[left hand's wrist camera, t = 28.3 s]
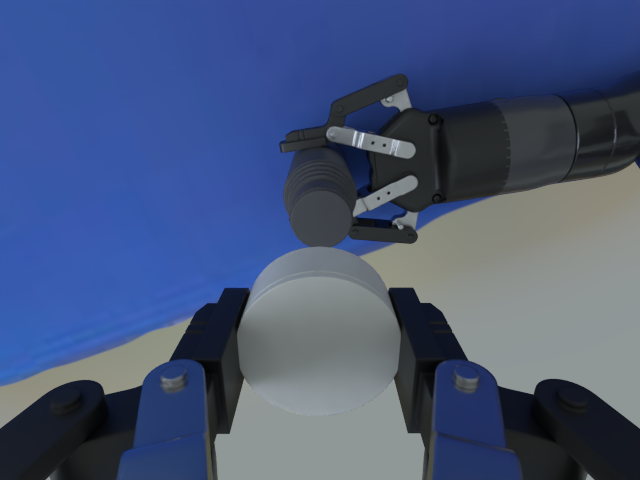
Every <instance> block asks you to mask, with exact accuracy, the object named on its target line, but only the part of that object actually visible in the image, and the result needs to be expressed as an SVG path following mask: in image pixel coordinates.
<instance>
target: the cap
mask: <svg viewBox="0 0 640 480" xmlns="http://www.w3.org/2000/svg"><path fill="white" fill-rule="evenodd" d="M400 340H401V330H400V326H399V323H398V320H397V317H396V314H395V311H394V308H393V306H392V303H391V300H390V297H389V294H388V291H387V289H386V286H385V284H384V282H383V280H382V279H381V277H380V276H379V274H378V273H377V272H376V271H375V270H374V269H373V268H372V267H371V266H370V265H369V264H368V263H367V262H365V261H364V260H362V259H361V258H359V257H358V256H356V255H354V254H352V253H349V252H347V251H344V250H340V249H336V248H330V247H320V246H319V247H308V248H302V249H298V250H295V251H292V252H289V253H287V254H284V255H283V256H281V257H279V258H277V259H276V260H274V261H273V262H272V263H270V264H269V265H268V266H267V267H266V268H265V269H264V270H263V271H262V272H261V274H260V275H259V276H258V278H257V279H256V281H255V283H254V285H253V287H252V290H251V292H250V295H249V298H248V301H247V304H246V307H245V310H244V313H243V315H242V318H241V321H240V324H239V327H238V330H237V342H238V353H239V364H240V370H241V372H242V374H243V376H244V378H245V379H246V381H247V382H248V384H249V385H250V386H251V387H252V389H253V390H254V391H255V392H256V393H258V394H259V395H260V396H261V397H262V398H264V399H265V400H266V401H268V402H269V403H271V404H273V405H275V406H277V407H279V408H281V409H284V410H286V411H289V412H293V413H297V414H301V415H308V416H330V415H337V414H342V413H346V412H349V411H352V410H355V409H357V408H359V407H362V406H364V405H365V404H367V403H369V402H370V401H372V400H373V399H375V398H376V397H377V396H379V395H380V394H381V393H382V392H383V391H384V390H385V389H386V388H387V387H388V385H389V384H390V383H391V381H392V380H393V378H394V376H395V375H396V373H397V371H398V363H399V352H400Z"/></svg>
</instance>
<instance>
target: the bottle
mask: <svg viewBox="0 0 640 480" xmlns="http://www.w3.org/2000/svg"><path fill="white" fill-rule="evenodd" d="M283 198H284V204H285V208H286V211H287V213H288V215H289V221H290V224H291V227H292V229H293V231H294V234H295V235H296V236H297V238H298V239H299V240H300V241H302V242H303V243H304V244H306V245H308V246H310V247H319V246H320V247H332V246H335V245H337V244H338V243H340V242H341V241H342V240H343V239H345V237H346V236H347V235H348V233H349V232H350V230H351V227H352V225H353V218H354V217H353V211H354V209H355V206H356V200H357V190H356V185H355V182H354V180H353V178H352V175H351V173H350V171H349V169H348V166H347V164H346V162H345V160H344V157H343V155H342V153H341V151H340V149H339V147H338V146H337V145H336V144H335V143H334V142H329V143H327V146H323V147H315V148H310V149H304V150H297V151H296V152H295V154H294V157H293V161H292V164H291V167H290V170H289V173H288V177H287V180H286V183H285V186H284V192H283Z"/></svg>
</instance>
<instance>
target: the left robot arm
mask: <svg viewBox="0 0 640 480" xmlns="http://www.w3.org/2000/svg"><path fill="white" fill-rule="evenodd" d="M388 294H389V297H390V300H391V303H392V306H393V308H394V311H395V314H396V317H397V320H398V323H399V326H400V330H401V340H400V352H399V363H398V371H397V373H396V375H395V376H394V380H395V384H396V388H397V392H398V396H399V400H400V404H401V408H402V412H403V415H404V419H405V423H406V427H407V431H408V433H421V437H422V440H423V443H424V447H425V452H424V463H423V477H422V480H586V477H587V474H589V475H590V476H591V477H592V478H593V479H594V480H640V429H639V428H638V427H637V426H636V425H634V424H633V423H632V422H630V421H629V420H628V419H626V418H625V417H624V416H623V415H621V414H620V413H619V412H617V411H616V410H615V409H613V408H612V407H611V406H610V405H608V404H607V403H606V402H604V401H603V400H602V399H600V398H599V397H598V396H597V395H595V394H594V393H592V392H591V391H589V390H588V389H586V388H584V387H582V386H580V385H578V384H575V383H573V382H569V381H566V380H560V379H547V380H543V381H541V382H539V383H538V384H537V386H536V388H535V392H534V395H532V394H528V393H524V392H520V391H515V390H511V389H507V388H503V387H500V386H498V385H497V381H496V379H495V378H494V376H493V375H492V374H491V373H490V372H489V371H488V370H487V369H485V368H484V367H482V366H480V365H478V364H476V363H474V362H471V361H468V359H467V357H466V356H465V354H464V352H463V350H462V348H461V346H460V345H459V343H458V341H457V339H456V337H455V335H454V334H453V333H452V330H451V328H450V326H449V325H448V324H447V321H446V319H445V317H444V315H443V313H442V312H441V311H440V310H439V309H437V308H436V307H435V306H433V305H432V304H431V303H420V301H419V299H418V297H417V295H416V292H415V290H414V289H413V288H389V291H388ZM249 295H250V291H249V288H225V289H224V291H223V293H222V295H221V297H220V299H219V301H218V303H207V304H206V305H205V306H204V307H202V308H201V309H200V310H198V311H197V312H196V313H195V315H194V317H193V319H192V320H191V322H190V325H189V326H188V328H187V329H186V332H185V334H184V335H183V337H182V339H181V340H180V342H179V344H178V346H177V348H176V349H175V351H174V353H173V355H172V357H171V358H170V360H169V362H167V363H164V364H162V365H160V366H158V367H156V368H155V369H153V370H152V371H151V372H150V373H149V374H148V375H147V376H146V377H145V379H144V381H143V385H141V386H139V387H136V388H132V389H129V390H125V391H120V392H116V393H111V394H107V395H105V394H104V390H103V388H102V386H101V385H100V384H99V383H98V382H95V381H91V380H79V381H74V382H70V383H66V384H64V385H61V386H59V387H57V388H55V389H53V390H51V391H49V392H48V393H46V394H45V395H43V396H42V397H41V398H40V399H38V400H37V401H36V402H34V403H33V404H32V405H30V406H29V407H28V408H27V409H25V410H24V411H23V412H21V413H20V414H19V415H17V416H16V417H15V418H14V419H12V420H11V421H10V422H8V423H7V424H6V425H4V426H3V427H2V428H1V429H0V480H46V479H47V478H48V477H49V476H50V479H51V480H218V477H217V463H216V452H215V445H214V441H215V438H216V435H217V434H229V433H230V430H231V426H232V422H233V418H234V415H235V411H236V407H237V403H238V399H239V395H240V392H241V388H242V384H243V380H244V376H243V374H242V372H241V370H240V364H239V353H238V342H237V330H238V327H239V324H240V321H241V318H242V315H243V313H244V310H245V307H246V304H247V301H248V298H249Z"/></svg>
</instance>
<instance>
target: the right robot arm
mask: <svg viewBox="0 0 640 480" xmlns="http://www.w3.org/2000/svg"><path fill="white" fill-rule="evenodd" d="M407 85H408V79H407V77H406V76H405V75H403V74H397V75H392V76H390V77H388V78H385V79H383V80H381V81H378V82H376V83H374V84H372V85H369V86H367V87H365V88H362V89H360V90H358V91H356V92H353V93H351V94H349V95H346V96H344V97H342V98H340V99H337V100H335V101H334V102H333V103H332V104H331V109H330V114H329V119H328V121H327V123H326V124H325V125H323V126H319V127H313V128H307V129H300V130H294V131H291V132H290V133H288V134H287V135H286V136H285V137H286V140H284V141H281V142H280V143H279V145H280V151H281V153H284V152H291V151H297V150H304V149H310V148H315V147H323V146H327V143H329V142H334V143H339V144H344V145H349V146H353V147H356V148H360V149H364V150H366V153H367V158H368V161H369V163H370V171H369V181H370V183H368V184H367V185H365V186H363V187H361V188H360V189H358V191H357V200H356V206H355V209H354V211H353V217H354V218H353V225H352V227H351V230H350V232H349V233H348V235H349V237H350V238H352V239H357V240H370V241H382V242H395V243H408V244H411V243H414V242H415V241H416V240H417V238H418V235H417V233H416V231H415V228H416V222H417V217H418V212H420V211H422V210H424V209H425V208H427V207H428V206H430V205H433V204H439V203H447V202H454V201H461V200H468V199H474V198H481V197H488V196H495V195H502V194H508V193H515V192H522V191H527V190H531V189H535V188H538V187H542V186H546V185H550V184H555V183H562V182H569V181H576V180H582V179H589V178H595V177H601V176H606V175H610V174H613V173H616V172H619V171H621V170H623V169H624V168H626V167H628V166H629V165H631V164H632V163H633V162H634V161H635V162H636V164H637V165H638V167H639V168H640V70H639V71H636V72H634V73H631V74H629V75H626V76H624V77H622V78H620V79H618V80H615V81H613V82H611V83H609V84H607V85H604V86H602V87H598V88H591V89H583V90H577V91H570V92H564V93H558V94H552V95H542V96H519V97H512V98H497V99H493V100H491V101H487V102H480V103H474V104H468V105H462V106H455V107H449V108H443V109H437V110H430V111H421V110H419V109H417V108H412V106H411V103H410V100H409V97H408V93H407V90H406V87H407ZM378 101H379V102H380V104H381V105H382V106H385V107H392V106H394V107H396V108H397V109H398V112H397V113H396V114H395V115H394V116H393V117H392V118H391V119H390V120H389V121H388V122H387V123H386V124H385V125H384V126H383V127H382V128H381V129H380V130H379V131H378V132H373V131H368V130H363V129H358V128H352V127H347V126H344V122H345V117H346V115H347V114H350V113H352V112H354V111H357V110H359V109H361V108H364V107H366V106H368V105H371V104H373V103H375V102H378ZM372 189H373V190H372ZM378 197H379V198H378ZM388 201H389V202H391V203H393V204H395V205H397V206H399V207H401V208H403V209H405V211H404V212H403V213H402V214H399V215H394V216H393V217H392V218H391V220H381V219H369V218H357V215H359V214H361V213H363V212H365V211H370V210H373V209H375V208H377V207H379V206H380V205H382V204H384V203H386V202H388Z"/></svg>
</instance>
